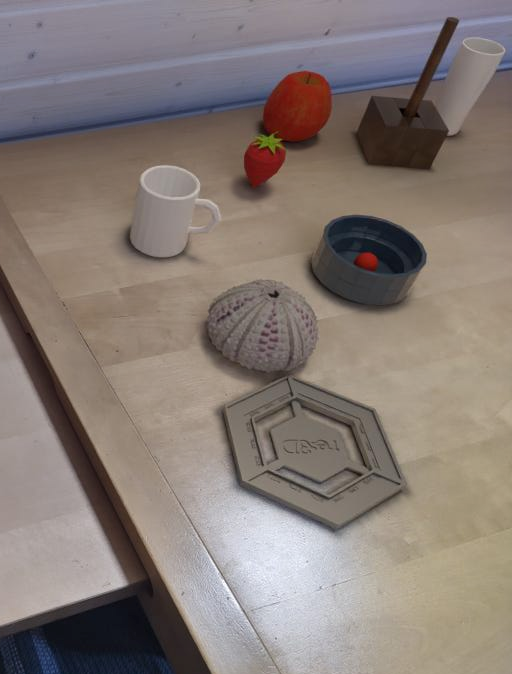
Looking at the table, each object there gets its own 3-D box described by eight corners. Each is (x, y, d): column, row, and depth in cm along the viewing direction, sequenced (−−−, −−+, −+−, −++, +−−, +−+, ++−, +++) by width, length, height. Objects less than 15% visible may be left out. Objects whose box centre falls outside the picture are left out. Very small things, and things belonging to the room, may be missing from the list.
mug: (198, 275, 97) (215, 216, 90) (120, 244, 101) (130, 185, 94) (220, 245, 102) (237, 186, 95) (144, 216, 106) (155, 158, 99)
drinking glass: (414, 127, 128) (454, 43, 117) (432, 116, 131) (473, 33, 120) (450, 143, 124) (495, 58, 113) (468, 131, 127) (513, 47, 116)
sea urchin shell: (289, 398, 83) (312, 351, 77) (183, 350, 87) (197, 302, 82) (324, 332, 91) (347, 285, 85) (225, 291, 95) (240, 243, 89)
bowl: (395, 250, 103) (411, 219, 99) (420, 313, 94) (439, 281, 90) (303, 242, 103) (315, 210, 99) (319, 303, 94) (333, 271, 90)
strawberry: (281, 182, 114) (301, 125, 106) (263, 204, 109) (282, 146, 102) (247, 170, 116) (264, 112, 108) (228, 190, 111) (244, 132, 104)
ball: (345, 267, 98) (361, 271, 100) (360, 275, 96) (376, 279, 97) (355, 247, 97) (371, 251, 98) (370, 255, 95) (386, 259, 96)
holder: (413, 138, 125) (431, 100, 120) (429, 169, 118) (449, 130, 113) (356, 133, 125) (371, 95, 120) (368, 163, 119) (385, 125, 113)
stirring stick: (395, 149, 122) (457, 17, 106) (398, 154, 121) (461, 22, 105) (385, 148, 122) (445, 16, 106) (388, 154, 121) (449, 21, 105)
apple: (310, 156, 119) (332, 96, 112) (249, 136, 123) (266, 77, 115) (328, 129, 126) (350, 70, 118) (269, 111, 129) (287, 53, 122)
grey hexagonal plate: (358, 381, 85) (361, 376, 84) (421, 531, 71) (425, 526, 71) (214, 377, 84) (216, 372, 84) (250, 527, 71) (252, 523, 70)
